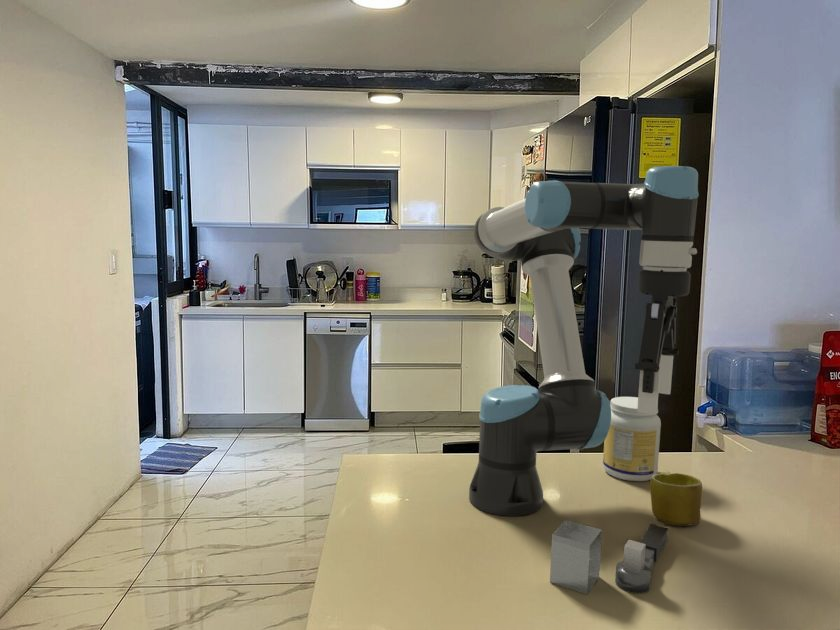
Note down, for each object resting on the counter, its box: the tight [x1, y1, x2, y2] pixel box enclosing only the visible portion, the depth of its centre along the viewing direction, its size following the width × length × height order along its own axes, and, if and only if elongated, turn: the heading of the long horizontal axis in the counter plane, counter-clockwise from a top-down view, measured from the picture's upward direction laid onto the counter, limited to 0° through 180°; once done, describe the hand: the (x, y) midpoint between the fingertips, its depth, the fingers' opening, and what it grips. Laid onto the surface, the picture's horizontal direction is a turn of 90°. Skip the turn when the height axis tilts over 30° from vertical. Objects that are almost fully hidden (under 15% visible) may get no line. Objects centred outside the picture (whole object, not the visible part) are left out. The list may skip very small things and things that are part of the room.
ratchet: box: [614, 523, 669, 594], centre depth 105 cm, size 21×5×6 cm, turn 147°
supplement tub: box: [602, 396, 662, 482], centre depth 145 cm, size 12×12×17 cm
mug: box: [649, 470, 703, 527], centre depth 123 cm, size 12×10×10 cm
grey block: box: [549, 519, 603, 595], centre depth 99 cm, size 6×6×8 cm
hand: (654, 402), depth 100 cm, fingers open, 13 cm apart
